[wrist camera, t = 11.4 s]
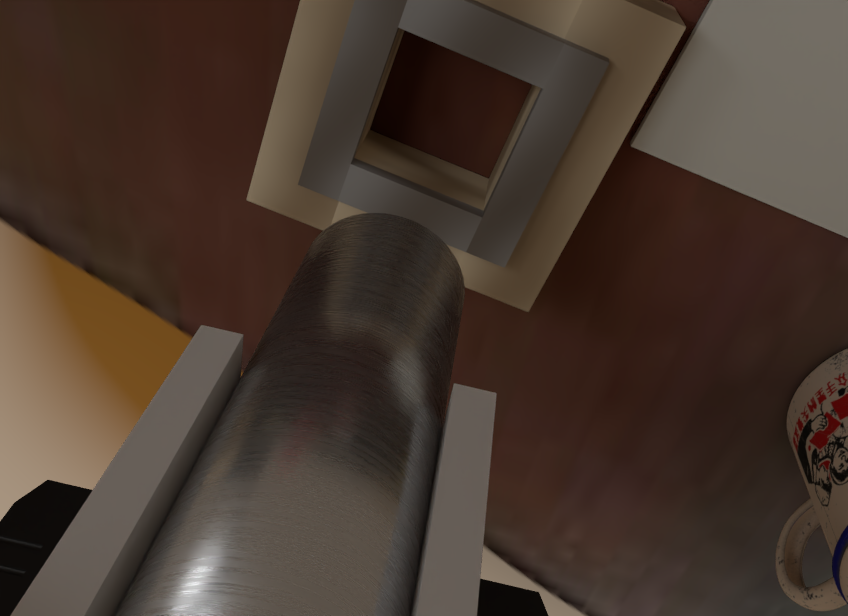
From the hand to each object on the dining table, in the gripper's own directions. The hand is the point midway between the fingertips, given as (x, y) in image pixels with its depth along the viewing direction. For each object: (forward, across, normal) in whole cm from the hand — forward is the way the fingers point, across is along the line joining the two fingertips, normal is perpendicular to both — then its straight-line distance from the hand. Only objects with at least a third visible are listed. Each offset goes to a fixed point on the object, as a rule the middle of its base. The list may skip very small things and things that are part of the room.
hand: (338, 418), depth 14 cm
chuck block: (+19, 0, -2) cm, 19 cm away
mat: (+19, +13, +4) cm, 24 cm away
